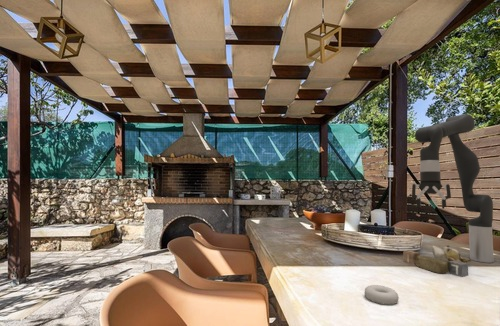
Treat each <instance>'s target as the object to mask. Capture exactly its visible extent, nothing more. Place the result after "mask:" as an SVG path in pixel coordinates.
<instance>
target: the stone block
mask: <svg viewBox="0 0 500 326" xmlns="http://www.w3.org/2000/svg"><path fill="white" fill-rule="evenodd" d="M415 265H416V267H418V268H420V269H424V270H426V271H430V272H433V273H436V274H440V275H441V274H449V269H448V263H447V262H446V261H442V260H439V259H435V257H430V256H426V255H420V256H417V261H416V264H415Z"/></svg>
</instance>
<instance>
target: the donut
mask: <svg viewBox="0 0 500 326" xmlns="http://www.w3.org/2000/svg"><path fill="white" fill-rule="evenodd" d="M364 296H365V297H366V298H367V299H368V300H369V301H372V302H374V303H377V304H379V305H389V306H390V305H394V304H396V303H398V302H399V298H400V297H399V294H398V292H397V291H396V290H394V289H393V288H391V287H389V286H385V285H382V284H381V285H379V284H371V285H368V286H366V287H365V288H364Z"/></svg>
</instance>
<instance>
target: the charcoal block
mask: <svg viewBox="0 0 500 326" xmlns="http://www.w3.org/2000/svg"><path fill="white" fill-rule="evenodd" d="M448 269H449V272H448V274H449V275H453V276H456V277H460V278H464V277H468V276H469V262H466V263H464V262H459V261H455V260H454V261H449V262H448Z"/></svg>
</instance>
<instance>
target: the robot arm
mask: <svg viewBox="0 0 500 326" xmlns="http://www.w3.org/2000/svg"><path fill="white" fill-rule="evenodd" d="M475 124H476V122H475V119H474V117H473V116H472V115H471V114H468V113H464V114H458V115H453V116H449V117H447V118H445V121H443V122H440V123H436V124H433V125H428V126H424V127H419V128H417V130H415V133H414V139H415V140H416V141H417V142H418V143H420V144H421V143H422V144H424V143H425V144H426V143H429V145H428V146H426V147H423V148H421V149H420V151H419V158H420V159H419V161H420V162H419V176H420V177H419V180H420V182H419V183H418V184H416V183H413V184H411V185H412V187H411V191H412V192H411V196H412V198H415V199H416V205H417V207H418V208H421V207H422V202H421V201H422V199H421V197H422V196H423V195H424V194H426V195H436V194H437V195H438V196H439V197H440V198H441V208H442V209H445V208H447V200H448V199H451V198H452V195H451V186H450V184H442V181H441V164H440V147H441V144H442V140H443V138H446V137H448V139H449V142H450V145H451V148H452V153H453V156H454V157H453V158H454V161H455V162H454V163H455V165H456V170H457V173H458V177H459V182H460V186H461V187H460V188H461V194H462V202H463V207H464V208H465V209H466V211H467V212H471V213H480V214H479V216H477V217H475V218H469V219H468V241H469V242H468V247H469V260H471V261H475V262H479V263H487V264H488V263H490V264H491V263H494V241H493V238H494V237H493V220H494V218H493V217H494V215H493V214H494V211H493V210H494V201H493V198H492V197H491V196H490V195H489V194H476V193H475V194H474V188H473V187H474V184H475V181H476V179H477V177H478V175H479V173H480V170H481V167H480V162H479V158H478V156H477V154H476V153H475V152H474V151H473V150H471V148H469V147H468V146H467V145H466V144H465V143H464V142H463V140H462V138H461V137H460V134H464V133H469V132H472V131H473V130H474V128H475V126H476V125H475ZM418 188H420V189H421V191H420V193H419V194H418V195H416V190H417V189H418ZM442 188H443V190H446V195H444V194H443V193H442V192H441V191H440V190H441V189H442Z"/></svg>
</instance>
